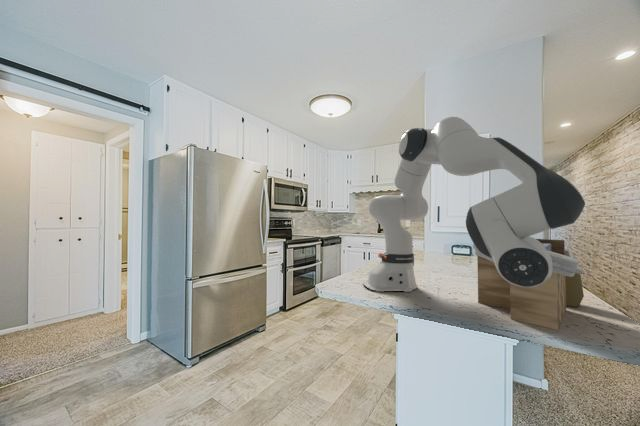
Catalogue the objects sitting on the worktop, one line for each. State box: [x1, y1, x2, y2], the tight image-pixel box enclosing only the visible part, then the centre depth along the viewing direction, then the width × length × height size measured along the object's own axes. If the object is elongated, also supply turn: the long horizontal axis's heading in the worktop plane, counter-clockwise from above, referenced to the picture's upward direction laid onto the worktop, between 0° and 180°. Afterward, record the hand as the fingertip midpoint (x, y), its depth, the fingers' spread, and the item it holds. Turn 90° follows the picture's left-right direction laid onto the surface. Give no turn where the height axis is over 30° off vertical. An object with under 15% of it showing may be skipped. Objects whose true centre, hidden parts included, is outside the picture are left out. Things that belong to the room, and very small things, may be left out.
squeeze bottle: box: [565, 249, 585, 308], centre depth 86 cm, size 8×8×18 cm
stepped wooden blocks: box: [476, 238, 567, 331], centre depth 83 cm, size 23×21×26 cm
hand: (520, 248), depth 68 cm, fingers open, 8 cm apart
